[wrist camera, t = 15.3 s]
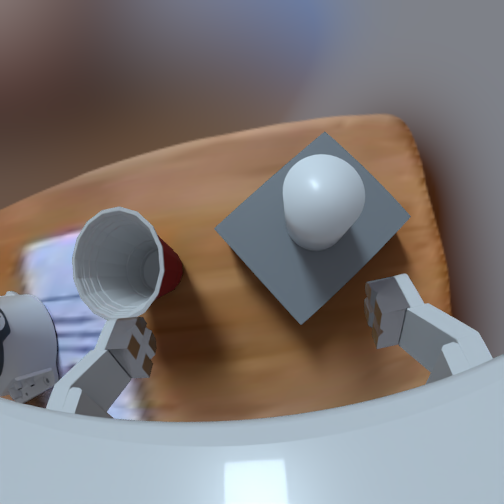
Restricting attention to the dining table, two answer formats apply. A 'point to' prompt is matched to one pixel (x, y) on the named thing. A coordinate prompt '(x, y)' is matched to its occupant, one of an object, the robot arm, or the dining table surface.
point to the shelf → (302, 260)
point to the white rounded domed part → (321, 200)
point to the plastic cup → (122, 264)
